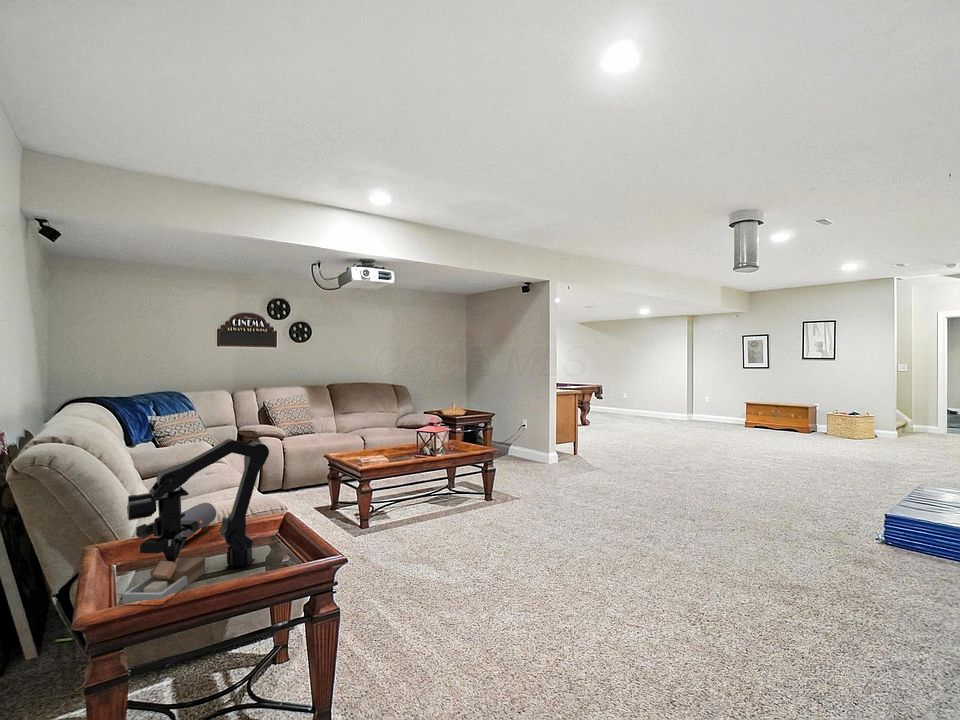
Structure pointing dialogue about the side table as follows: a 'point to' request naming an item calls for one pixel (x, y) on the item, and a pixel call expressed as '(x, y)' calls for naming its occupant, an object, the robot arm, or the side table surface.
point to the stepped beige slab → (184, 570)
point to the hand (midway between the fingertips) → (171, 564)
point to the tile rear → (165, 569)
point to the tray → (139, 595)
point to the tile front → (155, 587)
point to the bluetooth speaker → (199, 516)
